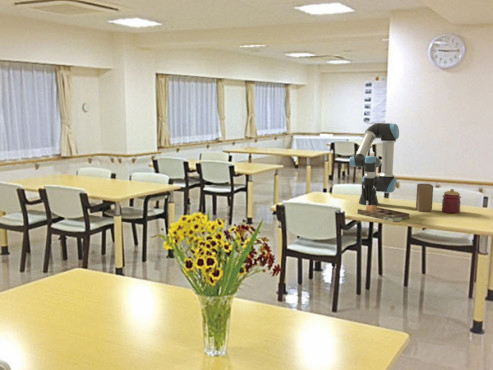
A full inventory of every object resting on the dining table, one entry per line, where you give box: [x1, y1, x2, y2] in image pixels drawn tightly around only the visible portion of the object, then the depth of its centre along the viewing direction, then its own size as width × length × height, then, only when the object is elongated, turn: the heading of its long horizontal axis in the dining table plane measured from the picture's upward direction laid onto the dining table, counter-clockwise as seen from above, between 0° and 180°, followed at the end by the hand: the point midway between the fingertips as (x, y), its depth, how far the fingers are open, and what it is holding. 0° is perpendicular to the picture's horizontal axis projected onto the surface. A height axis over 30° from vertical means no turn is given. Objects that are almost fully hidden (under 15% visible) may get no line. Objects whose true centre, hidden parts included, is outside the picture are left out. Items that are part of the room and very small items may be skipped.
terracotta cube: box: [365, 205, 378, 213], centre depth 383 cm, size 5×5×5 cm
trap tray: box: [357, 206, 410, 223], centre depth 380 cm, size 32×18×4 cm, turn 36°
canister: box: [441, 188, 462, 214], centre depth 395 cm, size 13×13×18 cm
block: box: [415, 183, 434, 213], centre depth 400 cm, size 10×10×20 cm
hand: (368, 209), depth 386 cm, fingers closed
